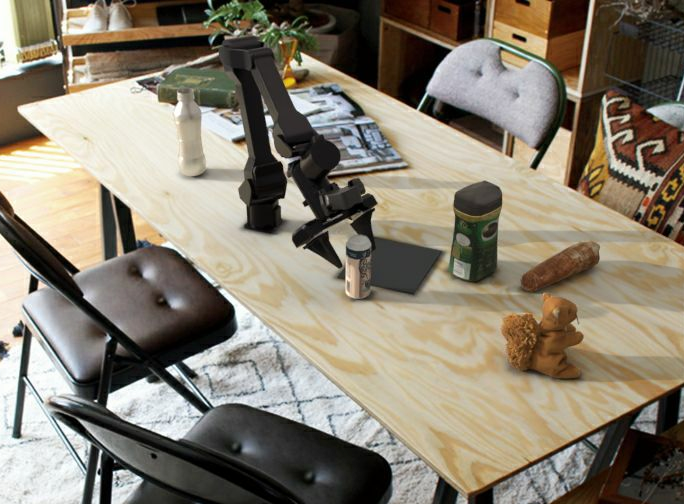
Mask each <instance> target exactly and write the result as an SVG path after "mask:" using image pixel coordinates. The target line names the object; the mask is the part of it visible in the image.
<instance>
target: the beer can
mask: <svg viewBox="0 0 684 504" xmlns="http://www.w3.org/2000/svg"><path fill="white" fill-rule="evenodd" d="M345 266H346V280H345V294H346V296H348V297H349V298H351V299H355V300H361V299H362V300H363V299H365V298H367V297H369V296H370V294H371V285H370V280H371V242H370V240H369V238H368V237H367V236H364V235H358V234H353V235H350V236H349V237H348V239H347V240H346V243H345Z"/></svg>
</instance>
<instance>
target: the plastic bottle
mask: <svg viewBox="0 0 684 504" xmlns="http://www.w3.org/2000/svg"><path fill="white" fill-rule="evenodd" d="M176 94H177V95H176V96H177V97H176V100H177V101H178V102H177V103H176V104H175V106H174V108H173V111H172V118H173V122H174V126H175V130H176V136H177V143H178V144H177V145H178V146H177V147H178V148H177V149H178V154H177V155H178V156H177V166H178V167H177V168H178V170H179V171H180V173H181V174H182V175H183V176H187V177H197V176H200V175H202V174H203V173H204V172H205V171H206V169H207V159H206V158H207V157H206V155H205V152H204V145H203V140H202V115H203V113H202V110H201V107H200V106H199V104H197V102H196V101H195V97H196V96H195V90H194V89H193V88H191V87H182V88H179V89H177V91H176Z"/></svg>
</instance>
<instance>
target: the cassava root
mask: <svg viewBox="0 0 684 504" xmlns="http://www.w3.org/2000/svg"><path fill="white" fill-rule="evenodd" d="M600 249H601V245H600V244H599V243H597V242H595V241H594V240H592V239H588V240H586V239H585V240H579V241H578V242H575V243H574V244H571V245H570V246H568V247H566V248H564V249H563V250H560V252H558V253H556V254H554V255H552V256H551V257H549V258H547V259H545V260H543V261H542V262H540V263H539V264H537V265H536V266H533V267H532V268H531V269H529V270H528V271H526V272H524V273H523V274H521V277H520V278H521V279H520V283H521V286H522V288H523V289H524V291H527V292H529V293H532V292H535V291H538V290H540V289H542V288H545V287H547V286H550V285H552V284H555V283H557V282H560V281H561V280H564V279H566V278H568V277H570V276H572V275H575V274H577V273H580V272H583V271H586V270H587V269H591V268H593V267H594V266H596V265H598V264H599V262H600V259H601V257H600Z"/></svg>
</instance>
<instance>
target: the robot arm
mask: <svg viewBox="0 0 684 504" xmlns="http://www.w3.org/2000/svg"><path fill="white" fill-rule="evenodd" d="M218 57H219V60H220V62H221V64H222V67H223V71H224V73H225V74H226V75H227V77H228V78H229V80H231V81H232V83H233V84H234V86H235V91H236V96H237V101H238V106H239V112H240V116H241V117H240V118H241V122H242V128H243V133H244V138H245V144H246V150H247V154H248V155H247V160H246V162H245V165H244V167H243V178H244V180H243V181H242V183H241V184H240V186H239V187H238V188H237V191H238V197H239V199H240V200H241V201H242V203H244V204H245V207H246V208H245V209H246V210H245V211H246V222H245V223H244V224H243V229H246V230H251V231H252V230H253V231H256V232H261V233H266V234H271V233H273V232H274V231H275V230H276V229H277V228H278V227H279V226H280V224H282V222H283V221H284V219H283V218H282V206H281V205H280V200H285V199H286V193H287V187H288V179H290V178H292V180H293V182H294V183H295V185H296V187H297V188H298V191H299V192H300V193H301V195H302V197H303V198H304V200H303V201H302V202H301V203H302V205H303V207H304V208H306V207H309V208H310V210H311V212H312V214H313V216H314V217H315V218H313V219H311V220H309V221H307V222H305V223H303V224H302V225H300V226H299V227H298V228H297V229H296V230H295V231H293V232H292V233H291V241H292V243H293V245H294V246H295V248H296V249H299V248H301V247H302V249H303V250H305V251H306V250H309V252H312V253H314V254H315V255H318V256H319V257H321V258H322V259H323V260H325V261H327V262H328V263H329V264H331V265H332V266H334V267H335V268H337V269H338V270H341V269H342V268H344V265H343V263H342V260H341V258H340V257H339V255H338V253H337V251H336V250H335V247H334V246H333V244H332V242H331V241H330V231H329V230H327V229H329V228H332V227H333V226H336V225H338V224H339V223H342V222H344V221H346V220H350V221H352V222H350V223H349V226H350V227H351V228H352V230H353V231H354V232H355V234H356V235H364V236H367V237H368V238H369V240H370V242H371V251H374V250H375V249H376V246H375V241H374V237H375V236H374V231H373V225H372V218H373V213H374V212H375V211H376V206H377V205H378V204H379V203H378V201H377V199H376V197H375V196H374V194H371V193H369V192H367V193H366V191H367V190H366V187H365V184H364V183H363V181H362V180H361V179H360V177H354V178H351V179H350V180H348V181H347V185H346V186H344V187H340V186H339V185H338V183H336V182H335V181H332V182H330V179H329V178H328V176H329V175H330V174H331V173H332V172H333V171H334V170H335V169H336V167H338V166H339V164H340V163H341V157H342V154H341V151H340V148H339V147H337V145H336V144H334V142H332V141H331V140H328V139H325V136H324V134H322V133H321V134H319V133H318V132H317V130H316V129H314V127H313V126H312V124H311V123H310V121H309V119H308V117H307V116H306V115H305V114H303V113H301V112H300V111H299V110H298V109H297V108H296V107H295V105H294V101H292V99H291V98H292V97H291V96H290V93H289V91H288V89H287V87H286V84H285V82H284V80H283V78H282V76H281V73H280V71H279V68H278V67H277V64H276V63H275V61H276V60H275V53H274V51H273V49H272V48H271V47H268V42H267V41H264V40H261V39H258V38H257V37H256V36H255V34H248V35H243V36H237V37H231V38H225V39H224V40H223V41H222V43H221V45H219V47H218ZM264 104H265V106H266V109H267V111H268V113H269V115H270V117H271V120H272V123H273V128H272V133H271V136H272V139H273V146H274V149H275V152H276V153H277V154H278V155H279V156H280V157H281V158H283V159H288V160H289V159H293V158H294V159H295V158H298V157H299V158H298V159H295V160H293V161H290V162H288V163H287V170H286V173H285V169H284V164H283V163H282V161H281V160H278V159H277V158H276V157H275V155H274V154H273V152H272V147H271V141H270V135H269V130H268V123H267V119H266V113H265V107H264ZM325 230H326V231H325Z"/></svg>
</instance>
